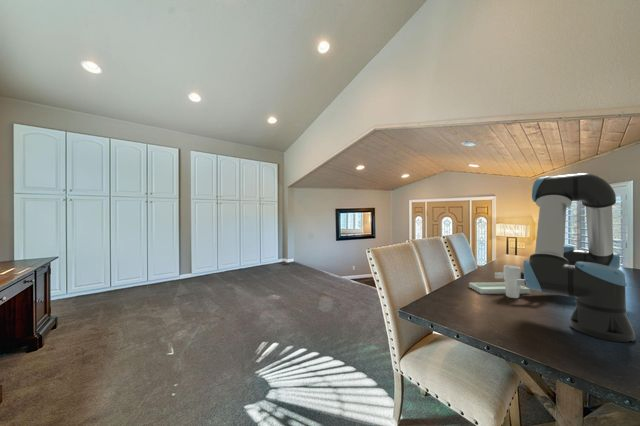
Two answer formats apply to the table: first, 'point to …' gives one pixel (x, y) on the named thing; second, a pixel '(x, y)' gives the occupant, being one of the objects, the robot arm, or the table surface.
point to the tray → (495, 288)
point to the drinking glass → (512, 280)
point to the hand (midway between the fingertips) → (505, 278)
